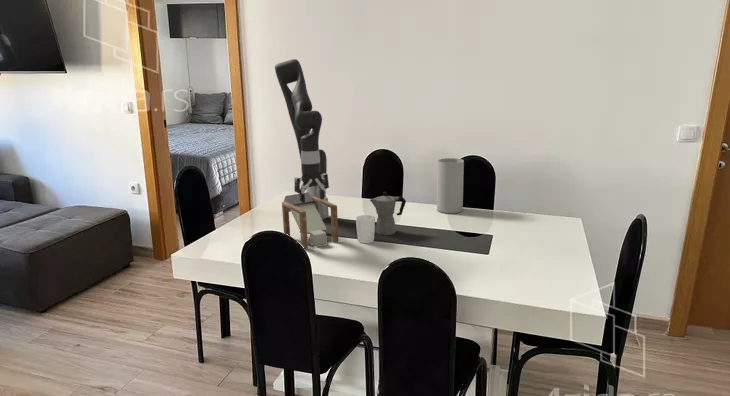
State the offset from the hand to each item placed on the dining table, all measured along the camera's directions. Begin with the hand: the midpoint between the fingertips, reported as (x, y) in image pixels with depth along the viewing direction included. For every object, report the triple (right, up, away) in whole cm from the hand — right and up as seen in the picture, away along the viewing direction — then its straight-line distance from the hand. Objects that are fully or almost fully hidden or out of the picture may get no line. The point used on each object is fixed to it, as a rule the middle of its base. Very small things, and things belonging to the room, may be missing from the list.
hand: (312, 200), depth 209 cm
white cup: (+22, -17, +4) cm, 28 cm away
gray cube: (+1, -15, +3) cm, 15 cm away
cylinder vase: (+63, -5, +45) cm, 78 cm away
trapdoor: (-5, -8, +11) cm, 14 cm away
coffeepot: (+31, -14, +15) cm, 37 cm away
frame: (-1, -16, +7) cm, 18 cm away
